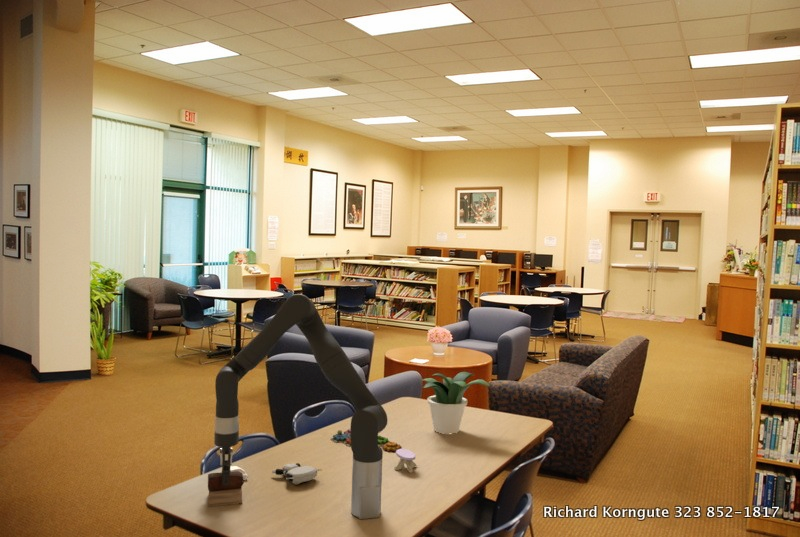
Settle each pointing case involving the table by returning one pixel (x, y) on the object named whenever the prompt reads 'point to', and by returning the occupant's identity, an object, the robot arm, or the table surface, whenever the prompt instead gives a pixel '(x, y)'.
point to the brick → (216, 481)
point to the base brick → (225, 497)
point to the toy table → (405, 459)
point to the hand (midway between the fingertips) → (225, 479)
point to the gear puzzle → (382, 441)
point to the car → (235, 468)
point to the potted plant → (449, 401)
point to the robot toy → (297, 472)
